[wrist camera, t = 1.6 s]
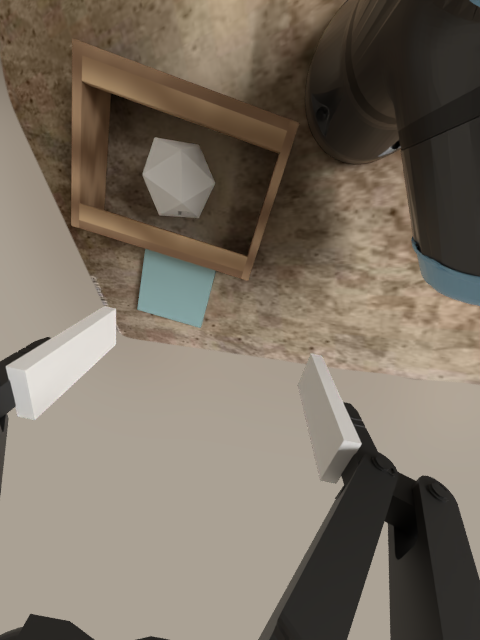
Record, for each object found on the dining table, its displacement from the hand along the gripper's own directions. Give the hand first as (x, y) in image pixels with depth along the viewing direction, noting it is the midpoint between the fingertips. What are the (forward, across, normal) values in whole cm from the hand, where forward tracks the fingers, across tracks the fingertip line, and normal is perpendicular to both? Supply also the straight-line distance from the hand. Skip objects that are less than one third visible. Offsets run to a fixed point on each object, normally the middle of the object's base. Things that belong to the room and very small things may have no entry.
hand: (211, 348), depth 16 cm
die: (+24, -10, +10) cm, 28 cm away
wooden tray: (+24, -10, +10) cm, 27 cm away
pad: (+24, -9, -5) cm, 26 cm away
